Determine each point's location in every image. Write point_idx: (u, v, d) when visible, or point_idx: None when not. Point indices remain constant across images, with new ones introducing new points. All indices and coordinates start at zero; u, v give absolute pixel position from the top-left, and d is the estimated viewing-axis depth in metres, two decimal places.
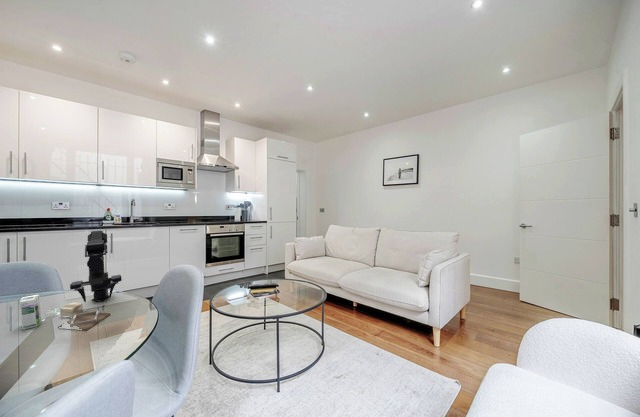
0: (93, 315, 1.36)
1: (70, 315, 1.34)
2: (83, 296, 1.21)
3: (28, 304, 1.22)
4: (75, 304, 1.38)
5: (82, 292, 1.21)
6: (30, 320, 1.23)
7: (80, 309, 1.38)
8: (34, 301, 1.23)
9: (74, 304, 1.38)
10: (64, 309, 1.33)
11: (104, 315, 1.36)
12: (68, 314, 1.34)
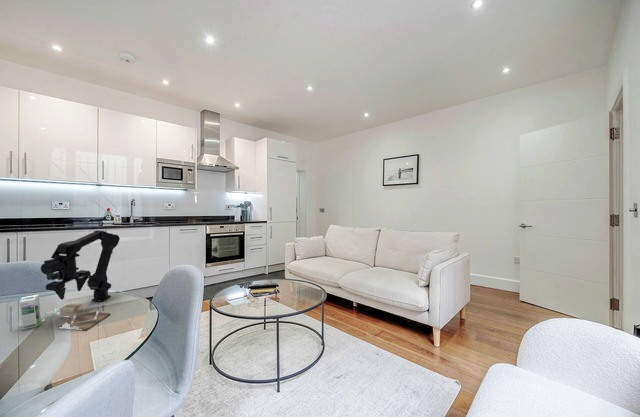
0: (93, 315, 1.36)
1: (70, 315, 1.34)
2: None
3: (28, 304, 1.22)
4: (75, 304, 1.38)
5: None
6: (30, 320, 1.23)
7: (80, 309, 1.38)
8: (34, 301, 1.23)
9: (74, 304, 1.38)
10: (64, 309, 1.33)
11: (104, 315, 1.36)
12: (68, 314, 1.34)
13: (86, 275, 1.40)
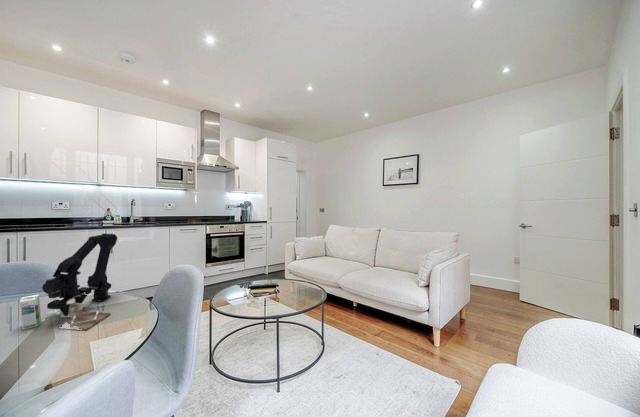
0: (93, 315, 1.36)
1: (70, 315, 1.34)
2: None
3: (28, 304, 1.22)
4: (75, 303, 1.38)
5: None
6: (30, 320, 1.23)
7: (80, 309, 1.38)
8: (34, 301, 1.23)
9: (74, 304, 1.38)
10: None
11: (104, 315, 1.36)
12: (68, 314, 1.34)
13: (87, 292, 1.42)
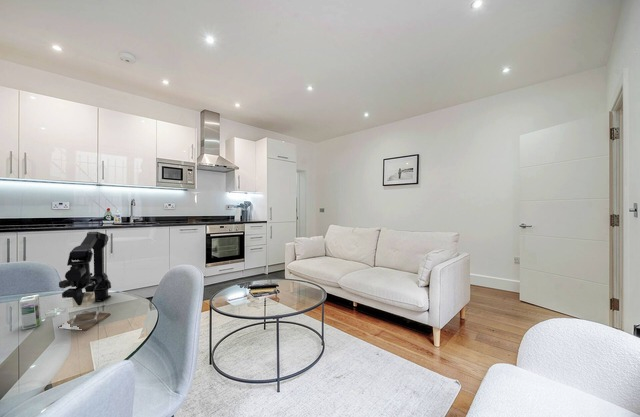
0: (93, 315, 1.36)
1: (84, 304, 1.28)
2: None
3: (28, 304, 1.22)
4: (86, 293, 1.31)
5: None
6: (30, 320, 1.23)
7: (93, 298, 1.32)
8: (34, 301, 1.23)
9: (86, 293, 1.31)
10: None
11: (104, 315, 1.36)
12: (82, 303, 1.27)
13: (98, 281, 1.36)
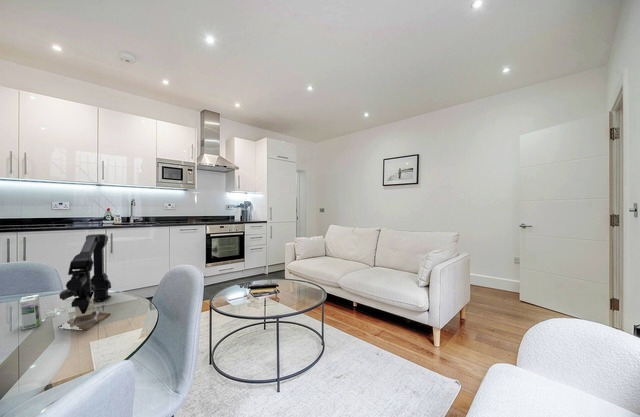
0: (93, 315, 1.36)
1: (89, 311, 1.30)
2: None
3: (28, 304, 1.22)
4: None
5: None
6: (30, 320, 1.23)
7: (93, 305, 1.34)
8: (34, 301, 1.23)
9: None
10: None
11: (104, 315, 1.36)
12: (86, 311, 1.29)
13: (93, 288, 1.37)
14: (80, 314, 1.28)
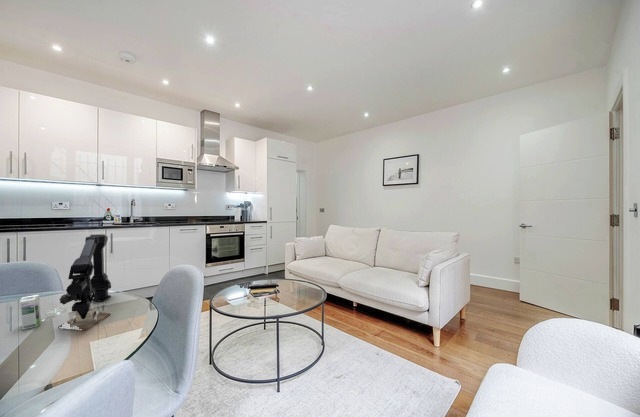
0: None
1: (89, 318, 1.30)
2: None
3: (28, 304, 1.22)
4: None
5: None
6: (30, 320, 1.23)
7: (93, 312, 1.34)
8: (34, 301, 1.23)
9: None
10: None
11: (104, 315, 1.36)
12: (87, 318, 1.30)
13: (94, 292, 1.37)
14: (80, 321, 1.28)
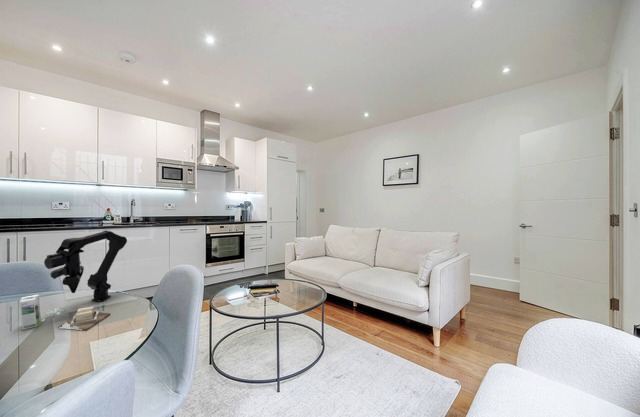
0: None
1: (89, 318, 1.30)
2: None
3: (28, 304, 1.22)
4: (86, 308, 1.33)
5: None
6: (30, 320, 1.23)
7: (93, 312, 1.34)
8: (34, 301, 1.23)
9: (86, 309, 1.32)
10: (81, 314, 1.28)
11: (104, 315, 1.36)
12: (87, 318, 1.30)
13: (83, 269, 1.45)
14: (80, 321, 1.28)
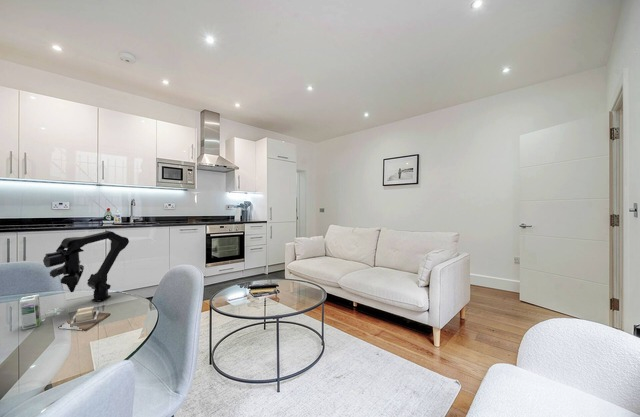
0: None
1: (89, 318, 1.30)
2: None
3: (28, 304, 1.22)
4: (86, 308, 1.33)
5: None
6: (30, 320, 1.23)
7: (93, 312, 1.34)
8: (34, 301, 1.23)
9: (86, 309, 1.32)
10: (81, 314, 1.28)
11: (104, 315, 1.36)
12: (87, 318, 1.30)
13: (82, 268, 1.46)
14: (80, 321, 1.28)
